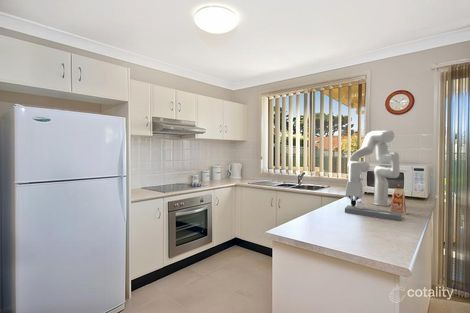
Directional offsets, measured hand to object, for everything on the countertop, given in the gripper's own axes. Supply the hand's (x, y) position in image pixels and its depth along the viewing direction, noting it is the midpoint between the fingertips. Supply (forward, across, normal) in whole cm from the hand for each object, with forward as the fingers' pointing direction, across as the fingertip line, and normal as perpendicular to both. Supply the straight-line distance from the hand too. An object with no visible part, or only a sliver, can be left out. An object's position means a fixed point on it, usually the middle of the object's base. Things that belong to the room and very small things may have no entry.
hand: (353, 206), depth 174 cm
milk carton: (+4, -26, -19) cm, 32 cm away
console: (+4, -12, 0) cm, 12 cm away
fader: (+1, -4, 0) cm, 4 cm away
